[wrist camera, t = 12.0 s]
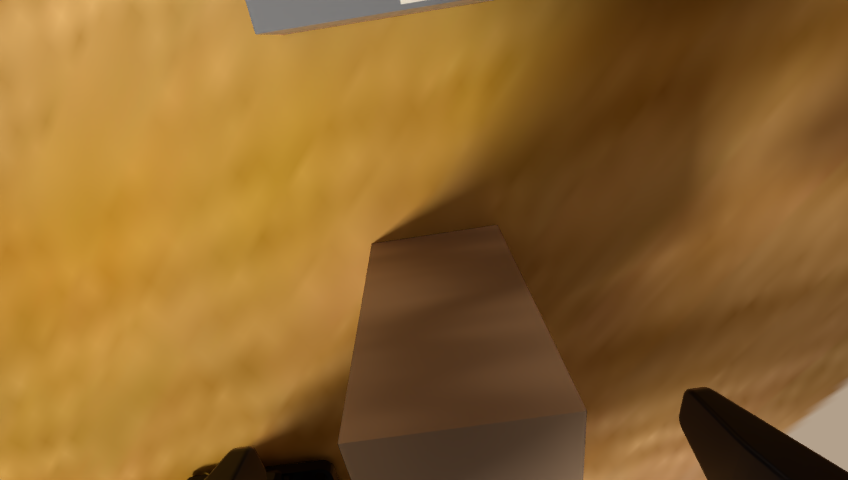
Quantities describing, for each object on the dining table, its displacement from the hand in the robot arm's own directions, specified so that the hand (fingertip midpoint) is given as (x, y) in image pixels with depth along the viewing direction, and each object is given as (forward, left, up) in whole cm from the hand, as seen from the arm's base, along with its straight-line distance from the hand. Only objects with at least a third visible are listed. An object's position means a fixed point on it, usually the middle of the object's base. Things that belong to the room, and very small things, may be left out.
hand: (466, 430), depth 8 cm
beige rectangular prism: (0, 0, -6) cm, 6 cm away
